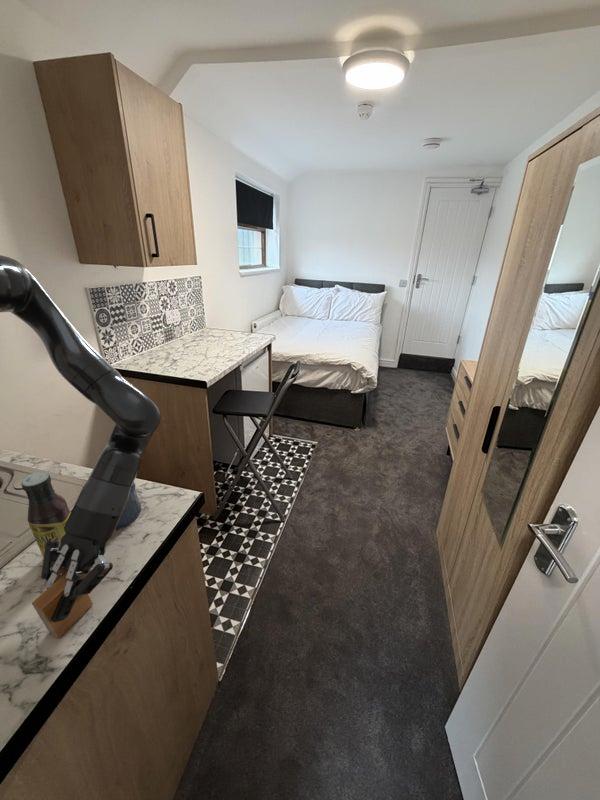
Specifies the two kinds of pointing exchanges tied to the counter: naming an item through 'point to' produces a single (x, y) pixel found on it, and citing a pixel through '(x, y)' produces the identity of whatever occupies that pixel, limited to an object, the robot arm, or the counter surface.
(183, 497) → the counter surface
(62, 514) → the sauce bottle
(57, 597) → the wooden toy block
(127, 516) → the pot
